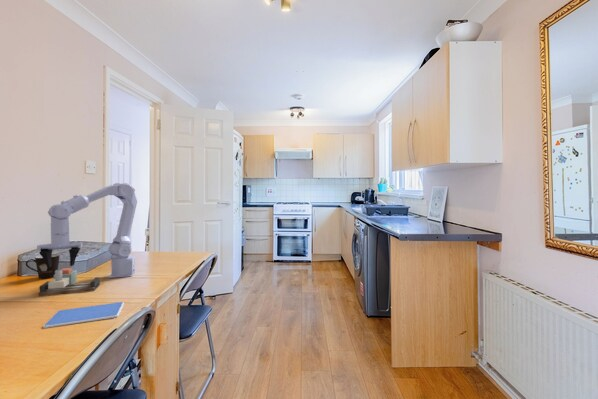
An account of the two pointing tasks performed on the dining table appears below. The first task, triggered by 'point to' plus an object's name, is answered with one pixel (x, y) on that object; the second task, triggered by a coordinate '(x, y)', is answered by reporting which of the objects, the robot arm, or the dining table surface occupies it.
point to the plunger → (66, 270)
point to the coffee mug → (45, 266)
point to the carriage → (58, 281)
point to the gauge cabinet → (70, 277)
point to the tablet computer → (85, 314)
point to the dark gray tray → (69, 288)
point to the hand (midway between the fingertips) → (61, 266)
